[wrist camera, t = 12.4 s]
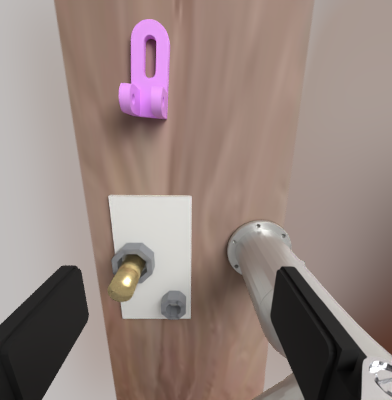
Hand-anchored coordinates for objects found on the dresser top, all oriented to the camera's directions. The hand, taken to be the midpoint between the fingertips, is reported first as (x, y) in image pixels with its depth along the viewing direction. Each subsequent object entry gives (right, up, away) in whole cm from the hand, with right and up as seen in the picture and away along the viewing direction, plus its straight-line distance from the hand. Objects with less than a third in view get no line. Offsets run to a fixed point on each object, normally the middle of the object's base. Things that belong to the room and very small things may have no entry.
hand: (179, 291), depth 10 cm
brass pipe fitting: (-11, -7, +31) cm, 33 cm away
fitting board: (-8, -8, +32) cm, 34 cm away
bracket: (-6, +24, +23) cm, 34 cm away
